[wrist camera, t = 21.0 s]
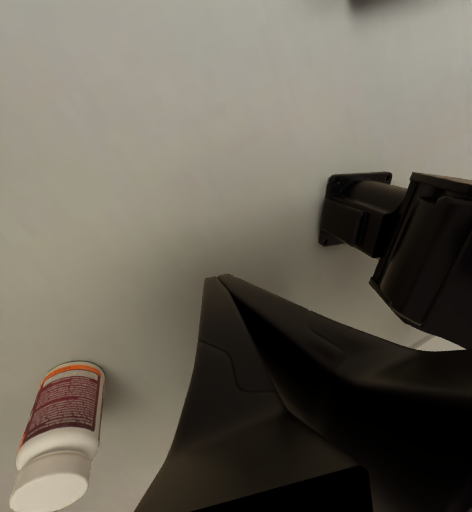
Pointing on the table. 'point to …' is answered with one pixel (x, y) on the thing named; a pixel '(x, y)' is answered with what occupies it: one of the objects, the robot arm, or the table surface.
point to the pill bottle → (60, 439)
